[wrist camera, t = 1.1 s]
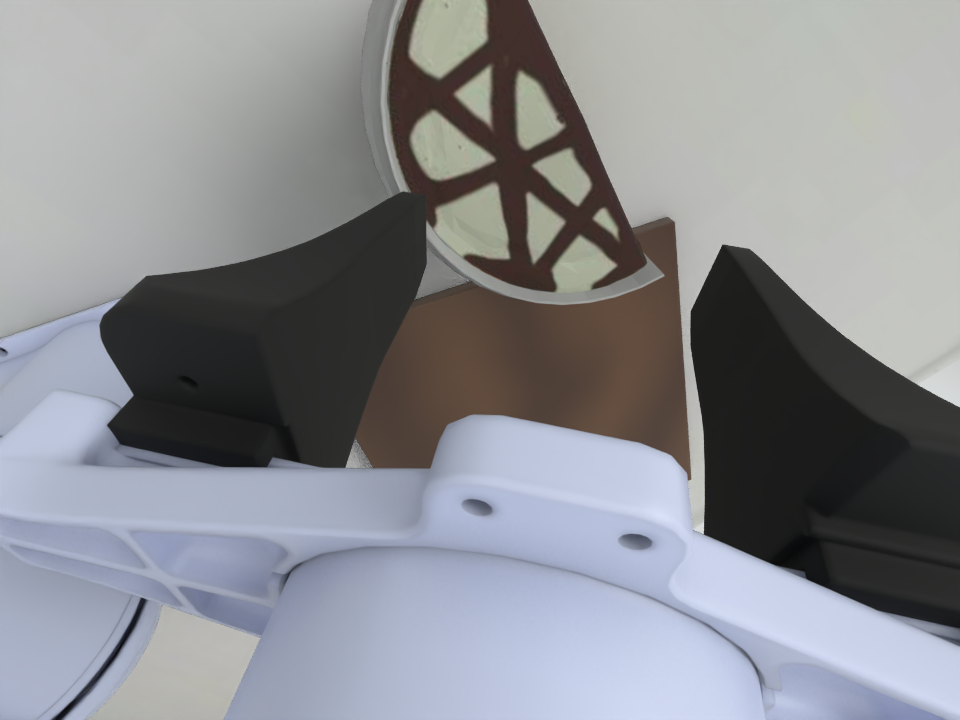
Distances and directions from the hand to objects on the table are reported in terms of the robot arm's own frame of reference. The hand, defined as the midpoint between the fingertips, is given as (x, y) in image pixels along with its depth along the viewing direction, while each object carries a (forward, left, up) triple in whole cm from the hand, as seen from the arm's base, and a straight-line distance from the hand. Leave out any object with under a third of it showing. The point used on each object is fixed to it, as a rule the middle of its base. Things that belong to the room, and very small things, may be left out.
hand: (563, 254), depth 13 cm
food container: (-1, +1, -13) cm, 13 cm away
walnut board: (-2, -16, -13) cm, 21 cm away
